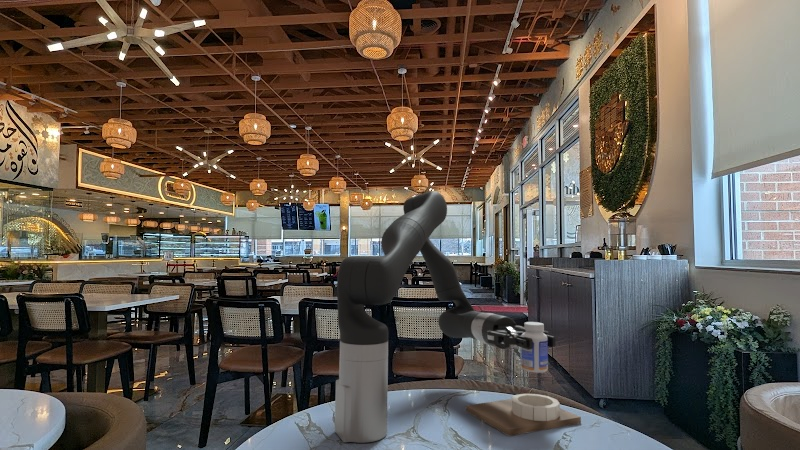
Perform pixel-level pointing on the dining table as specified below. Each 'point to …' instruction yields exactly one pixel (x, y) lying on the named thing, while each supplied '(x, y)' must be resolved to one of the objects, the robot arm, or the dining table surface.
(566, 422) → the socket board
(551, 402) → the socket sleeve
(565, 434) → the dining table surface
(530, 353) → the pill bottle
